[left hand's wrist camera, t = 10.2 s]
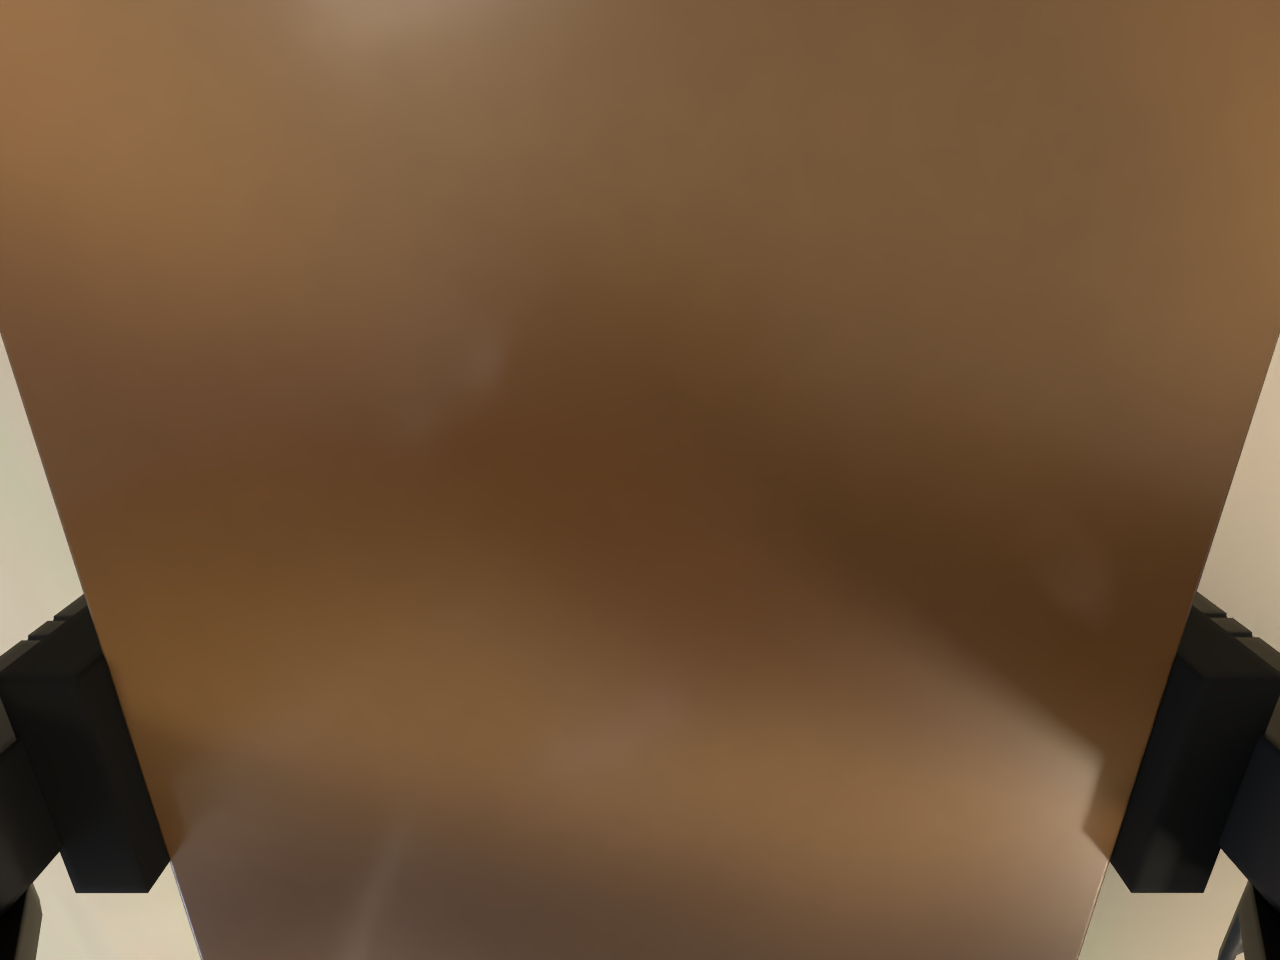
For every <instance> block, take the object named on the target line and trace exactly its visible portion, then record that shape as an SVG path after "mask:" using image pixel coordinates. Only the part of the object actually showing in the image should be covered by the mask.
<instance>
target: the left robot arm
mask: <svg viewBox="0 0 1280 960" xmlns="http://www.w3.org/2000/svg"><path fill="white" fill-rule="evenodd" d="M1220 849H1222V850H1223V851H1224V852H1225V854H1226V855H1227V856H1228V857H1229V858H1230V859H1231V861H1232V862H1233V863H1234V864H1235V865H1236V866H1237V867H1238V869H1239V870H1240V871H1241V872H1242V873H1243V874H1244V875H1245V877H1246V878H1247V879H1248V882H1247V885H1246V887H1245V890H1244V892H1243V895H1242V897H1241V899H1240V902H1239V904H1238V907H1237V909H1236V911H1235V914H1234V916H1233V919H1232V921H1231V924H1230V926H1229V928H1228V931H1227V933H1226V936H1225V938H1224V941H1223V943H1222V945H1221V948H1220V950H1219V955H1218V960H1235V958H1236V955H1238V954H1240V953H1243V952H1244V957H1245V960H1280V653H1279V652H1278V651H1277V650H1275V649H1274V648H1273V647H1271V646H1270V645H1268V644H1267V643H1266V642H1264V641H1263V640H1262V639H1260V638H1259V637H1253V636H1252V632H1251V631H1250V630H1248V629H1247V628H1245V627H1244V626H1243V625H1241V624H1240V623H1239V622H1237V621H1236V620H1235V619H1233V618H1227V616H1226V613H1225V612H1224V611H1222V610H1221V609H1220V608H1218V607H1217V606H1216V605H1214V604H1213V603H1212V602H1210V601H1209V600H1208V599H1206V598H1205V597H1204V596H1202V595H1201V594H1200V593H1198V592H1197V591H1196V594H1195V598H1194V601H1193V604H1192V607H1191V610H1190V613H1189V616H1188V619H1187V622H1186V626H1185V629H1184V632H1183V635H1182V638H1181V641H1180V644H1179V647H1178V650H1177V653H1176V657H1175V660H1174V663H1173V666H1172V669H1171V672H1170V675H1169V678H1168V681H1167V684H1166V688H1165V691H1164V694H1163V697H1162V700H1161V703H1160V706H1159V709H1158V712H1157V715H1156V719H1155V722H1154V725H1153V728H1152V731H1151V734H1150V737H1149V740H1148V743H1147V747H1146V750H1145V753H1144V756H1143V759H1142V762H1141V765H1140V768H1139V771H1138V774H1137V778H1136V781H1135V784H1134V787H1133V790H1132V793H1131V796H1130V799H1129V802H1128V805H1127V809H1126V812H1125V815H1124V818H1123V821H1122V824H1121V827H1120V830H1119V833H1118V837H1117V840H1116V843H1115V846H1114V849H1113V852H1112V855H1111V858H1110V862H1111V864H1112V865H1113V867H1114V868H1115V870H1116V871H1117V873H1118V874H1119V875H1120V877H1121V878H1122V880H1123V881H1124V883H1125V884H1126V886H1127V887H1128V889H1129V890H1130V891H1131V893H1204V890H1205V888H1206V885H1207V882H1208V880H1209V877H1210V875H1211V872H1212V869H1213V867H1214V864H1215V862H1216V859H1217V856H1218V854H1219V851H1220ZM59 851H60V853H61V856H62V858H63V861H64V864H65V866H66V869H67V871H68V874H69V877H70V879H71V882H72V884H73V887H74V890H75V892H76V893H148V892H149V891H150V889H151V888H152V886H153V885H154V883H155V882H156V880H157V879H158V878H159V876H160V875H161V873H162V872H163V870H164V869H165V867H166V866H167V865H168V863H169V862H170V861H169V858H168V855H167V852H166V848H165V845H164V842H163V839H162V836H161V833H160V830H159V827H158V823H157V820H156V817H155V814H154V811H153V808H152V805H151V802H150V798H149V795H148V792H147V789H146V786H145V783H144V780H143V777H142V773H141V770H140V767H139V764H138V761H137V758H136V755H135V752H134V748H133V745H132V742H131V739H130V736H129V733H128V730H127V727H126V723H125V720H124V717H123V714H122V711H121V708H120V705H119V702H118V698H117V695H116V692H115V689H114V686H113V683H112V680H111V677H110V674H109V670H108V667H107V664H106V661H105V658H104V655H103V652H102V649H101V645H100V642H99V639H98V636H97V633H96V630H95V627H94V624H93V620H92V617H91V614H90V611H89V608H88V605H87V602H86V599H85V595H84V594H83V595H82V596H81V597H79V598H78V599H77V600H75V601H74V602H72V603H71V604H70V605H68V606H67V607H66V608H64V609H63V610H62V611H60V612H59V613H58V614H56V615H55V616H54V620H53V621H47V622H46V623H44V624H43V625H42V626H40V627H39V628H38V629H36V630H35V631H34V632H32V633H31V634H30V635H28V640H27V641H20V642H19V643H17V644H16V645H15V646H13V647H12V648H11V649H9V650H8V651H7V652H5V653H4V654H3V655H1V656H0V960H36V953H37V946H38V940H39V933H40V927H41V920H42V910H41V905H40V900H39V897H38V895H37V892H36V890H35V887H34V885H33V882H34V880H35V879H36V878H37V877H38V876H39V875H40V873H41V872H42V871H43V870H44V869H45V868H46V867H47V865H48V864H49V863H50V862H51V861H52V860H53V858H54V857H55V856H56V855H57V854H58V853H59Z"/></svg>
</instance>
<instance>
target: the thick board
mask: <svg viewBox="0 0 1280 960" xmlns="http://www.w3.org/2000/svg"><path fill="white" fill-rule="evenodd" d="M0 333H1V336H2V339H3V342H4V346H5V349H6V352H7V355H8V358H9V361H10V364H11V367H12V371H13V374H14V377H15V380H16V383H17V386H18V389H19V392H20V396H21V399H22V402H23V405H24V408H25V411H26V414H27V417H28V421H29V424H30V427H31V430H32V433H33V436H34V439H35V442H36V446H37V449H38V452H39V455H40V458H41V461H42V464H43V467H44V471H45V474H46V477H47V480H48V483H49V486H50V489H51V492H52V496H53V499H54V502H55V505H56V508H57V511H58V514H59V517H60V520H61V524H62V527H63V530H64V533H65V536H66V539H67V542H68V545H69V549H70V552H71V555H72V558H73V561H74V564H75V567H76V570H77V574H78V577H79V580H80V583H81V586H82V589H83V592H84V595H85V599H86V602H87V605H88V608H89V611H90V614H91V617H92V620H93V624H94V627H95V630H96V633H97V636H98V639H99V642H100V645H101V649H102V652H103V655H104V658H105V661H106V664H107V667H108V670H109V674H110V677H111V680H112V683H113V686H114V689H115V692H116V695H117V698H118V702H119V705H120V708H121V711H122V714H123V717H124V720H125V723H126V727H127V730H128V733H129V736H130V739H131V742H132V745H133V748H134V752H135V755H136V758H137V761H138V764H139V767H140V770H141V773H142V777H143V780H144V783H145V786H146V789H147V792H148V795H149V798H150V802H151V805H152V808H153V811H154V814H155V817H156V820H157V823H158V827H159V830H160V833H161V836H162V839H163V842H164V845H165V848H166V852H167V855H168V858H169V861H170V864H171V867H172V870H173V873H174V876H175V880H176V883H177V886H178V889H179V892H180V895H181V898H182V901H183V905H184V908H185V911H186V914H187V917H188V920H189V923H190V926H191V930H192V933H193V936H194V939H195V942H196V945H197V948H198V951H199V955H200V958H201V960H1078V958H1079V954H1080V951H1081V948H1082V945H1083V942H1084V939H1085V936H1086V933H1087V930H1088V926H1089V923H1090V920H1091V917H1092V914H1093V911H1094V908H1095V905H1096V902H1097V899H1098V895H1099V892H1100V889H1101V886H1102V883H1103V880H1104V877H1105V874H1106V871H1107V868H1108V864H1109V861H1110V858H1111V855H1112V852H1113V849H1114V846H1115V843H1116V840H1117V837H1118V833H1119V830H1120V827H1121V824H1122V821H1123V818H1124V815H1125V812H1126V809H1127V805H1128V802H1129V799H1130V796H1131V793H1132V790H1133V787H1134V784H1135V781H1136V778H1137V774H1138V771H1139V768H1140V765H1141V762H1142V759H1143V756H1144V753H1145V750H1146V747H1147V743H1148V740H1149V737H1150V734H1151V731H1152V728H1153V725H1154V722H1155V719H1156V715H1157V712H1158V709H1159V706H1160V703H1161V700H1162V697H1163V694H1164V691H1165V688H1166V684H1167V681H1168V678H1169V675H1170V672H1171V669H1172V666H1173V663H1174V660H1175V657H1176V653H1177V650H1178V647H1179V644H1180V641H1181V638H1182V635H1183V632H1184V629H1185V626H1186V622H1187V619H1188V616H1189V613H1190V610H1191V607H1192V604H1193V601H1194V598H1195V594H1196V591H1197V588H1198V585H1199V582H1200V579H1201V576H1202V573H1203V570H1204V567H1205V563H1206V560H1207V557H1208V554H1209V551H1210V548H1211V545H1212V542H1213V539H1214V536H1215V532H1216V529H1217V526H1218V523H1219V520H1220V517H1221V514H1222V511H1223V508H1224V505H1225V501H1226V498H1227V495H1228V492H1229V489H1230V486H1231V483H1232V480H1233V477H1234V473H1235V470H1236V467H1237V464H1238V461H1239V458H1240V455H1241V452H1242V449H1243V446H1244V442H1245V439H1246V436H1247V433H1248V430H1249V427H1250V424H1251V421H1252V418H1253V415H1254V411H1255V408H1256V405H1257V402H1258V399H1259V396H1260V393H1261V390H1262V387H1263V384H1264V380H1265V377H1266V374H1267V371H1268V368H1269V365H1270V362H1271V359H1272V356H1273V352H1274V349H1275V346H1276V343H1277V340H1278V337H1279V334H1280V0H0Z"/></svg>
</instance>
